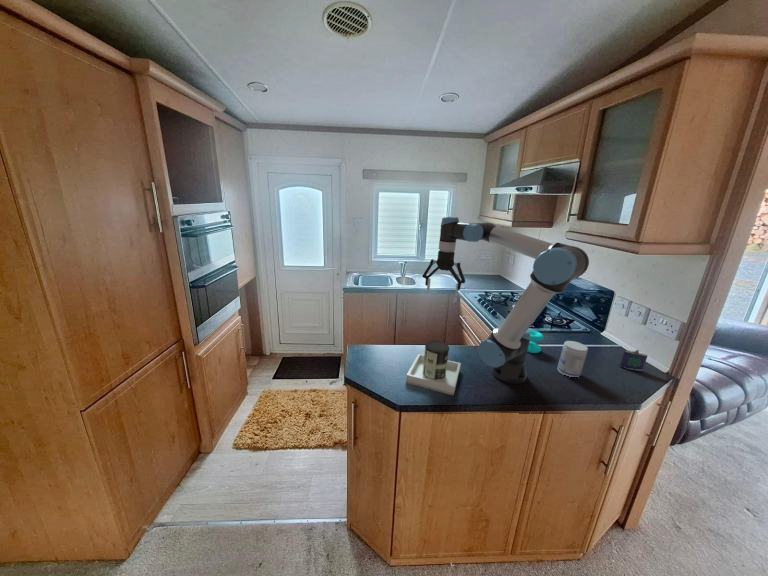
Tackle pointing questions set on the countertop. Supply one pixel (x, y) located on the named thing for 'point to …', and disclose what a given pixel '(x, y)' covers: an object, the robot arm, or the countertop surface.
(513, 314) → the robot arm
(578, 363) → the supplement tub
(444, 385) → the box
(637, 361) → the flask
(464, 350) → the countertop surface
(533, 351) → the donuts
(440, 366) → the coffee can
